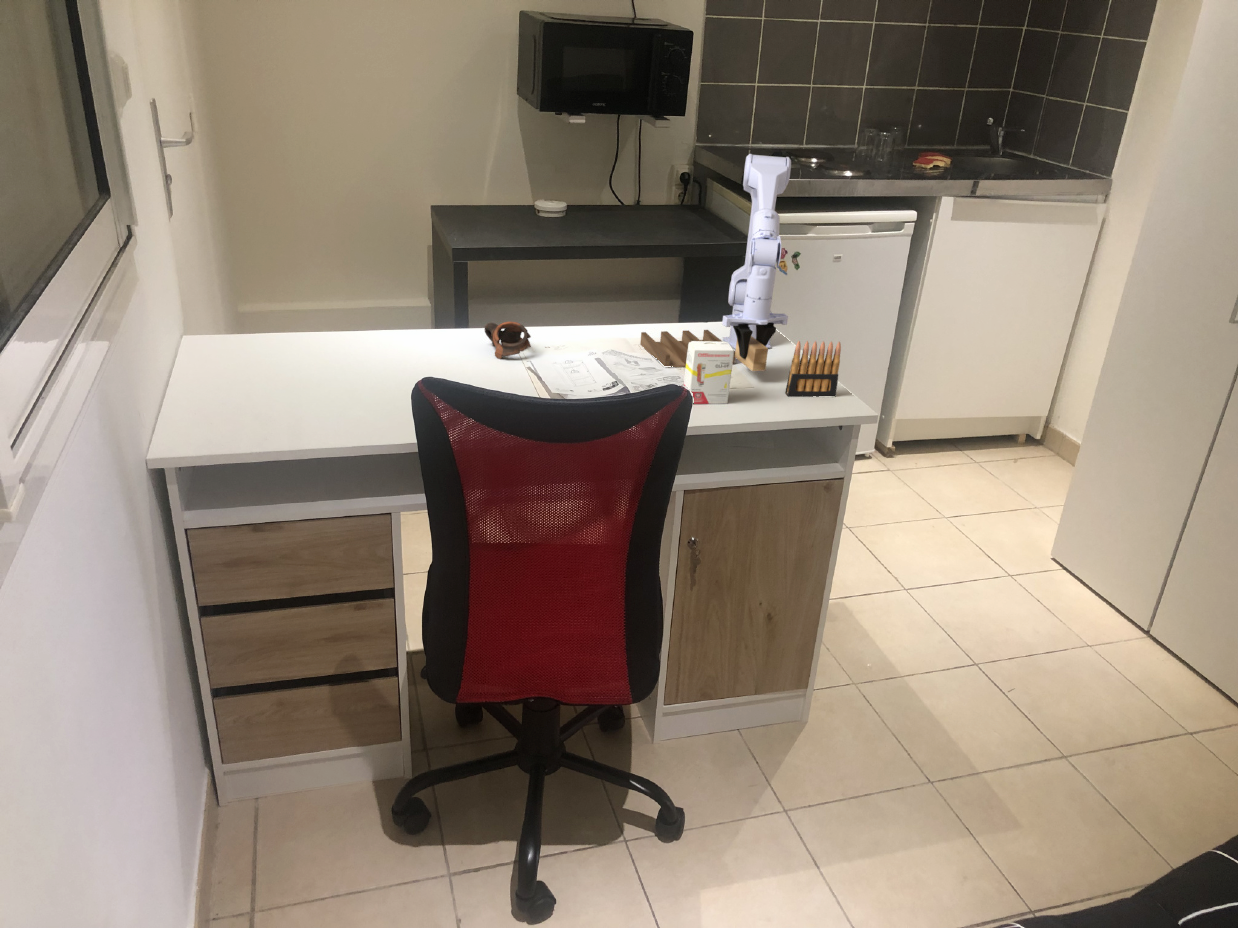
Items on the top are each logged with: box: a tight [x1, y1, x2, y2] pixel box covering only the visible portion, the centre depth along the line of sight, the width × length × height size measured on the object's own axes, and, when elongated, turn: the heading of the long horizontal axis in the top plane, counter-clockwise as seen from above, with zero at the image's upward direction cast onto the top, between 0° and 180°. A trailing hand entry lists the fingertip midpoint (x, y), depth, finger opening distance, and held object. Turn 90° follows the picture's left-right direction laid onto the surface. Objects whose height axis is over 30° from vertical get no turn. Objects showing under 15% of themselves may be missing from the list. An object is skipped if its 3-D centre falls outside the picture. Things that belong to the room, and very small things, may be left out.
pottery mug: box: [484, 321, 532, 360], centre depth 211 cm, size 12×10×8 cm
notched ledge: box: [640, 329, 736, 368], centre depth 219 cm, size 17×16×3 cm
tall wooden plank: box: [734, 336, 769, 372], centre depth 206 cm, size 3×9×5 cm, turn 19°
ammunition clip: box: [784, 340, 842, 398], centre depth 199 cm, size 11×2×12 cm, turn 99°
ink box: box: [683, 341, 735, 405], centre depth 192 cm, size 9×5×12 cm, turn 101°
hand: (750, 356), depth 207 cm, fingers closed on tall wooden plank, 3 cm apart
